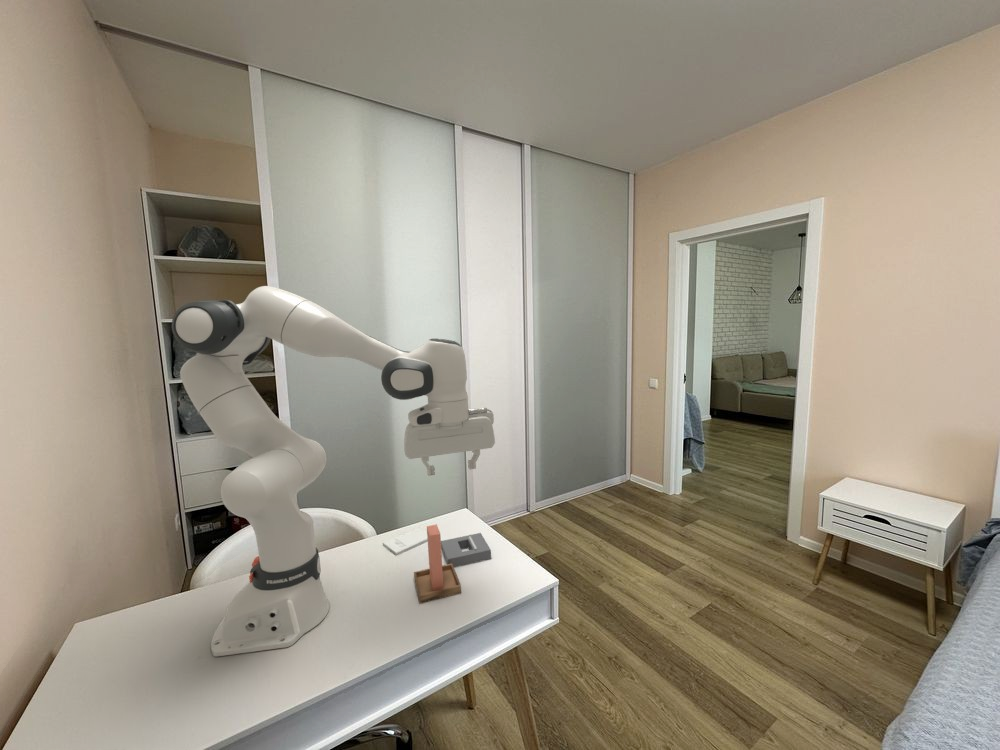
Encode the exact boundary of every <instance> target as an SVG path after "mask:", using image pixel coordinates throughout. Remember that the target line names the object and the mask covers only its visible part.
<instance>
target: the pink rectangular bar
mask: <svg viewBox="0 0 1000 750" xmlns="http://www.w3.org/2000/svg"><path fill="white" fill-rule="evenodd" d="M426 532H427V538H428V541H427V549H428V551H427V552H428V569H430V580H431V584H432V588H433V591H434V590H438V589H442V588H444V587H443V570H442V566H443V558H442V555H443V553H442V550H441V541H442V540H441V532H440V529H439V527H438V524H432V525H427V526H426Z"/></svg>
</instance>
